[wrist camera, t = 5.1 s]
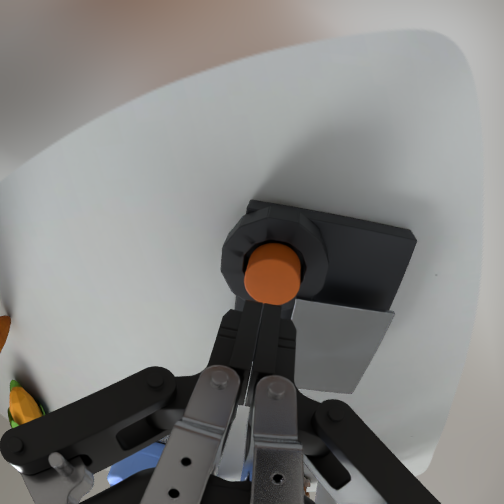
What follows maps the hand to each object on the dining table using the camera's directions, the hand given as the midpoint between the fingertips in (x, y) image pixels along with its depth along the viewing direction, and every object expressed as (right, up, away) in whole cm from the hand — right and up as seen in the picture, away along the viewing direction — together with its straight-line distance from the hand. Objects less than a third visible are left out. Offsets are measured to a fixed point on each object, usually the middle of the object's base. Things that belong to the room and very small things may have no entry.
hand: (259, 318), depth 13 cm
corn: (-38, -23, +27) cm, 52 cm away
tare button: (+1, +2, +4) cm, 5 cm away
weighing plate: (+5, -4, +6) cm, 9 cm away
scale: (+4, 0, +8) cm, 9 cm away
